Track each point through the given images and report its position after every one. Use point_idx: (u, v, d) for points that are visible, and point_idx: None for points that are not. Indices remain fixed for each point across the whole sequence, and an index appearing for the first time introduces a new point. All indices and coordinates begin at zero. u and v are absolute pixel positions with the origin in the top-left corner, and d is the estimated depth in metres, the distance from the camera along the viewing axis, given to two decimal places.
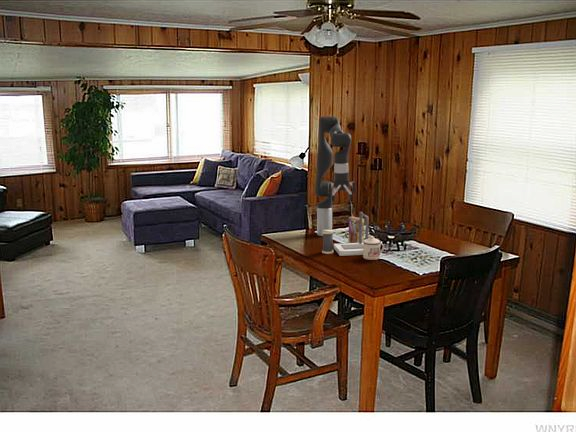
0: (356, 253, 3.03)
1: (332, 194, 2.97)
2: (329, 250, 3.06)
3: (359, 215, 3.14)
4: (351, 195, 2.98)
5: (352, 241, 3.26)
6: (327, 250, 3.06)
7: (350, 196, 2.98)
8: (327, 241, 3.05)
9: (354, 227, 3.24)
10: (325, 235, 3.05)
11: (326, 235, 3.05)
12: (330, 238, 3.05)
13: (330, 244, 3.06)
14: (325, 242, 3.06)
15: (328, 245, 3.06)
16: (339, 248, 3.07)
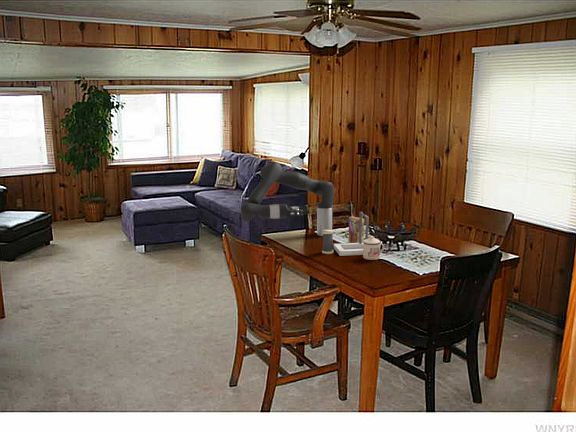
0: (356, 253, 3.03)
1: None
2: (329, 250, 3.06)
3: (359, 215, 3.14)
4: (303, 213, 2.98)
5: (352, 241, 3.26)
6: (327, 250, 3.06)
7: None
8: (327, 241, 3.05)
9: (354, 227, 3.24)
10: (325, 235, 3.05)
11: (326, 235, 3.05)
12: (330, 238, 3.05)
13: (330, 244, 3.06)
14: (325, 242, 3.06)
15: (328, 245, 3.06)
16: (339, 248, 3.07)
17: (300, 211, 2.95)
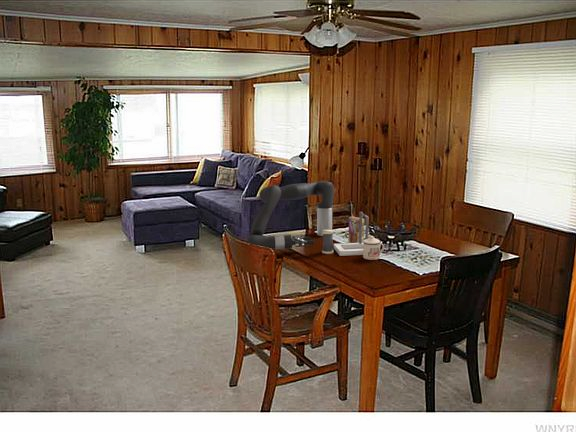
0: (356, 253, 3.03)
1: None
2: (329, 250, 3.06)
3: (359, 215, 3.14)
4: (308, 244, 3.02)
5: (352, 241, 3.26)
6: (327, 250, 3.06)
7: (308, 244, 3.02)
8: (327, 241, 3.05)
9: (354, 227, 3.24)
10: (325, 235, 3.05)
11: (326, 235, 3.05)
12: (330, 238, 3.05)
13: (330, 244, 3.06)
14: (325, 242, 3.06)
15: (328, 245, 3.06)
16: (339, 248, 3.07)
17: (305, 242, 2.99)
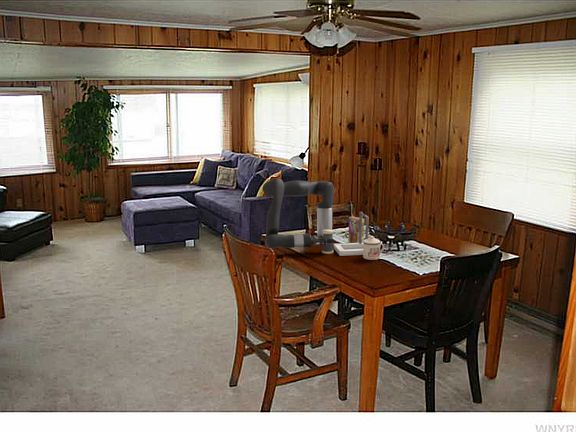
0: (356, 253, 3.03)
1: None
2: (329, 250, 3.07)
3: (359, 215, 3.14)
4: (328, 242, 3.04)
5: (352, 241, 3.26)
6: (327, 250, 3.06)
7: None
8: None
9: (354, 227, 3.24)
10: (325, 235, 3.05)
11: (326, 235, 3.05)
12: (330, 238, 3.05)
13: (330, 244, 3.06)
14: None
15: (328, 245, 3.06)
16: (339, 248, 3.07)
17: (325, 240, 3.02)
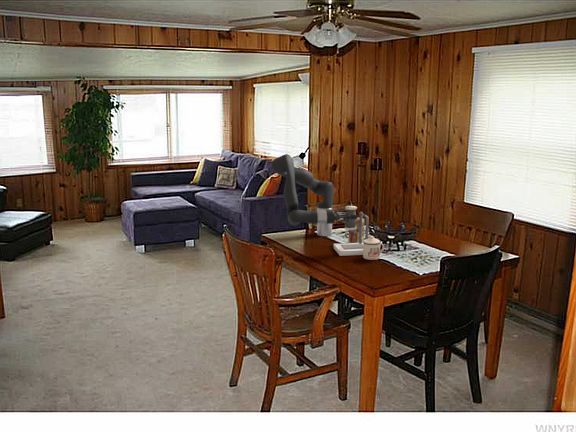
0: (356, 253, 3.03)
1: None
2: (352, 226, 3.05)
3: (359, 215, 3.14)
4: (351, 218, 3.03)
5: (352, 241, 3.26)
6: (350, 226, 3.05)
7: None
8: None
9: None
10: (348, 211, 3.04)
11: (349, 211, 3.04)
12: (353, 214, 3.04)
13: (353, 220, 3.05)
14: None
15: (351, 221, 3.05)
16: (339, 248, 3.07)
17: (349, 216, 3.01)
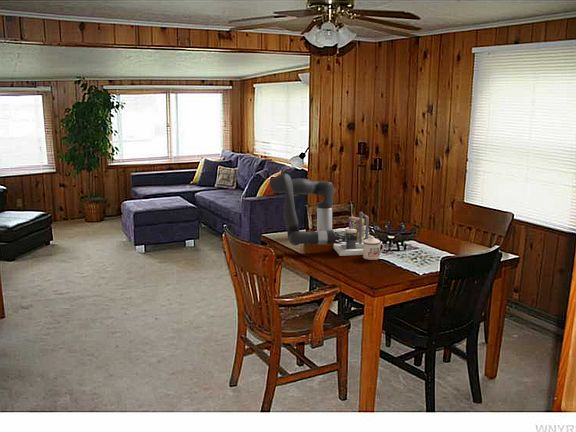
0: (356, 253, 3.03)
1: None
2: None
3: (359, 215, 3.14)
4: (351, 239, 3.04)
5: None
6: None
7: None
8: (350, 240, 3.07)
9: (354, 227, 3.24)
10: (348, 234, 3.07)
11: (349, 234, 3.06)
12: None
13: (353, 243, 3.08)
14: None
15: (351, 244, 3.07)
16: (339, 248, 3.07)
17: (348, 237, 3.02)
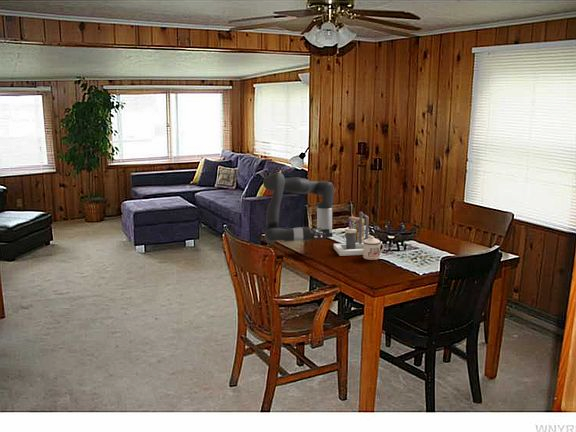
0: (356, 253, 3.03)
1: None
2: None
3: (359, 215, 3.14)
4: (326, 236, 3.02)
5: None
6: None
7: None
8: (350, 240, 3.07)
9: (354, 227, 3.24)
10: (348, 234, 3.07)
11: (349, 234, 3.06)
12: (353, 237, 3.07)
13: (353, 243, 3.08)
14: (348, 241, 3.08)
15: (351, 244, 3.07)
16: (339, 248, 3.07)
17: (323, 234, 3.00)
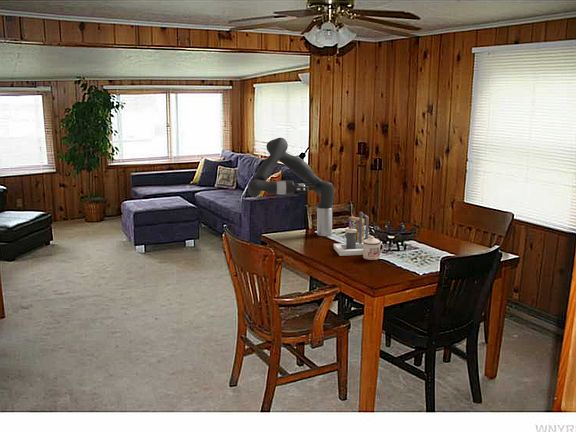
0: (356, 253, 3.03)
1: None
2: None
3: (359, 215, 3.14)
4: (309, 189, 3.06)
5: None
6: None
7: None
8: (350, 240, 3.07)
9: (354, 227, 3.24)
10: (348, 234, 3.07)
11: (349, 234, 3.07)
12: (353, 237, 3.07)
13: (353, 243, 3.08)
14: (348, 241, 3.08)
15: (351, 244, 3.07)
16: (339, 248, 3.07)
17: (306, 187, 3.03)
